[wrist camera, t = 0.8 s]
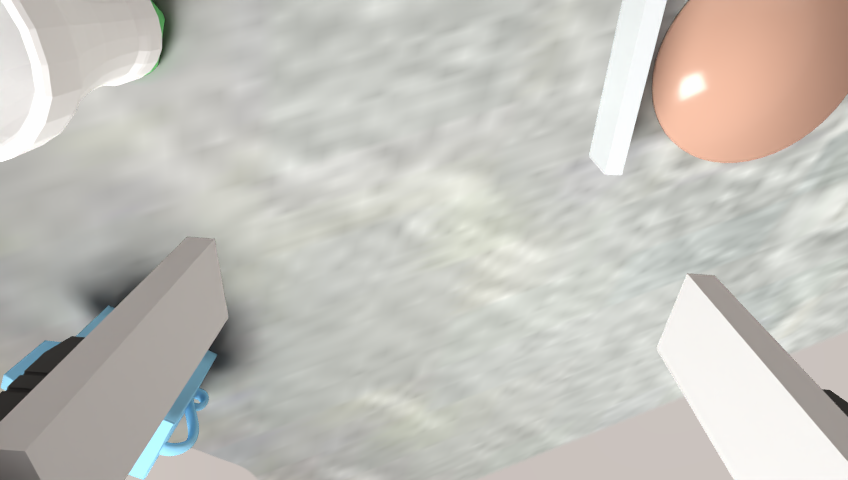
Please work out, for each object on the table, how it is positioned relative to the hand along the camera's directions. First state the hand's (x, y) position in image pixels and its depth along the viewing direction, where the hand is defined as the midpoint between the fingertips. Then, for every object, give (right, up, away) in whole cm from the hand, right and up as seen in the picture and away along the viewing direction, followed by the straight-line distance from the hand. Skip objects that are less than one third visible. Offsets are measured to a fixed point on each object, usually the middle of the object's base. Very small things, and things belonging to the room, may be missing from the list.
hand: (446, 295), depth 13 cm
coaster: (+23, +14, +19) cm, 33 cm away
